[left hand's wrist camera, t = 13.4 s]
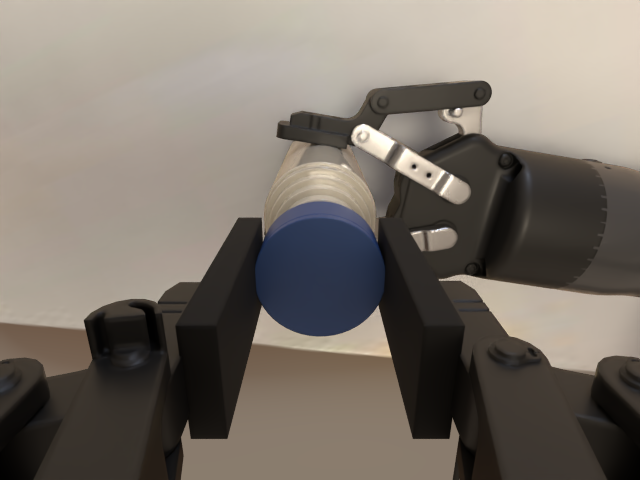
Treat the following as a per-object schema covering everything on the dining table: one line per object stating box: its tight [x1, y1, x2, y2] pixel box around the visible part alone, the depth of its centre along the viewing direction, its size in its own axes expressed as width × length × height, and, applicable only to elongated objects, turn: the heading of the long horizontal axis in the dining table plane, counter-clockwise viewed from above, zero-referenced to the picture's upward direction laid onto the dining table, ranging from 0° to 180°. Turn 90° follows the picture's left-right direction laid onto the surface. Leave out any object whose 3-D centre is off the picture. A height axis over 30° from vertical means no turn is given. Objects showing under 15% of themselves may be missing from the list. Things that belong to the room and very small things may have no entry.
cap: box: [255, 201, 385, 336], centre depth 13 cm, size 4×4×2 cm
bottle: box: [264, 141, 376, 233], centre depth 21 cm, size 5×5×18 cm
